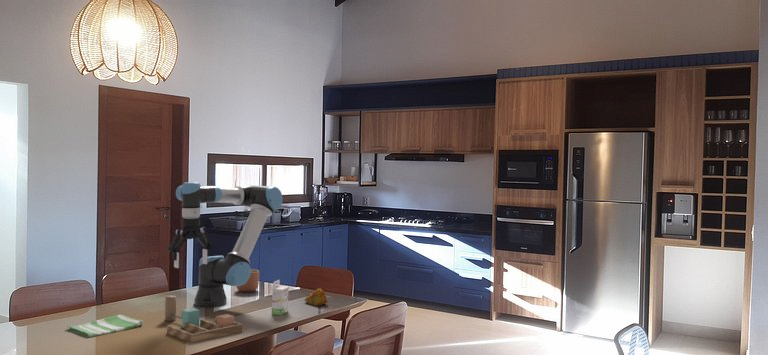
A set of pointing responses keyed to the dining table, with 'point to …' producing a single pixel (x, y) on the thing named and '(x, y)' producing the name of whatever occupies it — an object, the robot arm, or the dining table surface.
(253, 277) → the planter
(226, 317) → the terracotta block
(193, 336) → the oak lanes
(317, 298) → the rock
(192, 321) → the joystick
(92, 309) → the dining table surface
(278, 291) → the ink box
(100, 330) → the dish towel
